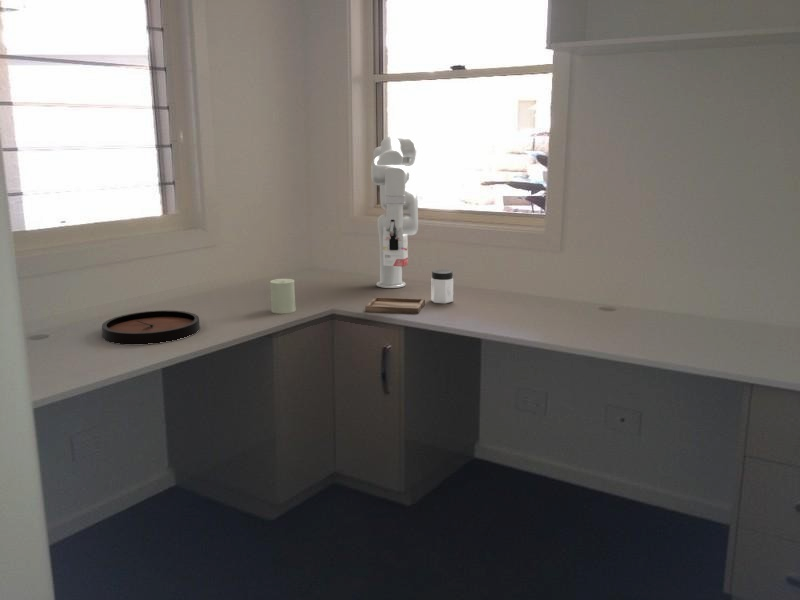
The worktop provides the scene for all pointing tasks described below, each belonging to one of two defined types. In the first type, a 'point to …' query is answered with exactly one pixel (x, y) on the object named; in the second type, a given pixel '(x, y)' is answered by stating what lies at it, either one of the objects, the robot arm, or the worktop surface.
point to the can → (282, 296)
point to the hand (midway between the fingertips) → (395, 248)
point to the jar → (442, 286)
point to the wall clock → (150, 327)
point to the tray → (395, 305)
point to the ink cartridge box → (395, 256)
